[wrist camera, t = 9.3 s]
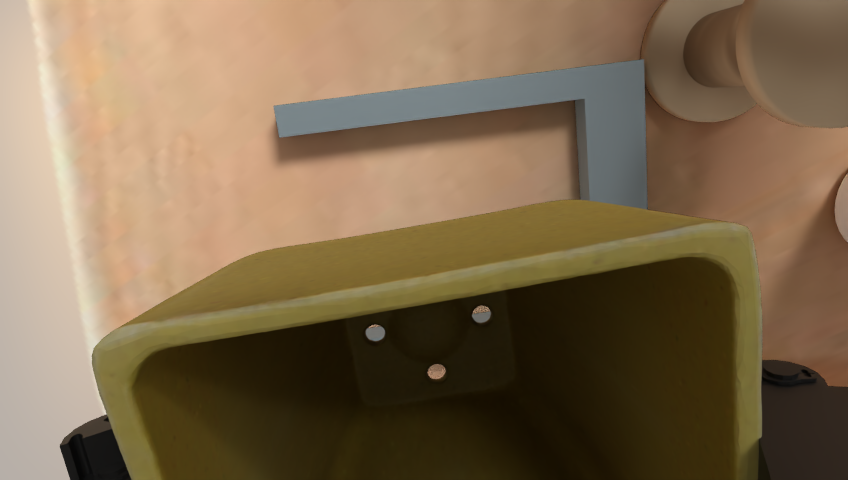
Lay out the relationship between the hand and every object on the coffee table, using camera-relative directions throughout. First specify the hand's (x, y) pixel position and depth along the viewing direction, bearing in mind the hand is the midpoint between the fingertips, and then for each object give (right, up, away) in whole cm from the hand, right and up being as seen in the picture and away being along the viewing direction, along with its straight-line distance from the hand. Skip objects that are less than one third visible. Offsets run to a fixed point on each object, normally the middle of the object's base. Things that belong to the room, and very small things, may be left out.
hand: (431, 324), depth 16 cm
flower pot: (0, 0, +1) cm, 1 cm away
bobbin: (+14, +12, +12) cm, 22 cm away
